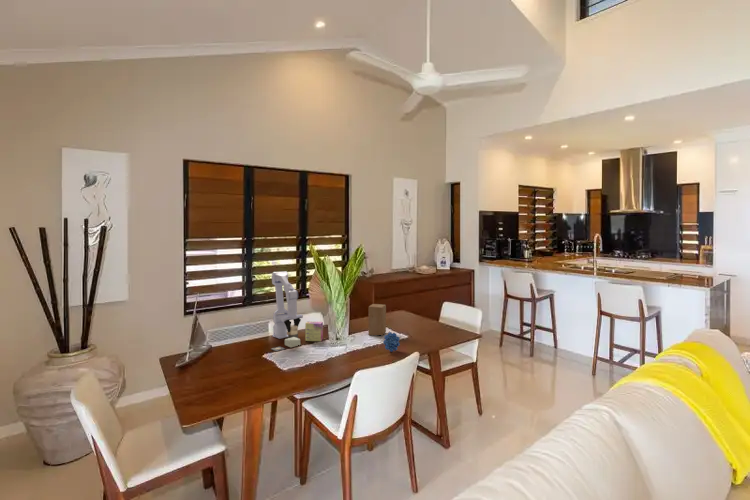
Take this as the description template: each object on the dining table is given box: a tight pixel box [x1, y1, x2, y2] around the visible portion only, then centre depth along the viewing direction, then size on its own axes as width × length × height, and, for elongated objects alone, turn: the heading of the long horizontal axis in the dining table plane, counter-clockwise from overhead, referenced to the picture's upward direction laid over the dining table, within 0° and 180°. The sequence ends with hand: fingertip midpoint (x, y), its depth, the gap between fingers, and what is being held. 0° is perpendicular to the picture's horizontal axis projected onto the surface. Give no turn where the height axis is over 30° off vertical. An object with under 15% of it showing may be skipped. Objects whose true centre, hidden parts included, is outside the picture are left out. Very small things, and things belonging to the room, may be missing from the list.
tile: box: [270, 346, 286, 352], centre depth 228 cm, size 6×6×1 cm
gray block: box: [287, 333, 299, 339], centre depth 248 cm, size 4×4×5 cm
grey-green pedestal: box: [284, 337, 301, 348], centre depth 237 cm, size 7×7×4 cm
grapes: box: [382, 331, 401, 353], centre depth 223 cm, size 12×7×12 cm, turn 121°
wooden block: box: [367, 303, 387, 336], centre depth 262 cm, size 10×10×20 cm
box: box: [304, 320, 324, 342], centre depth 247 cm, size 10×6×12 cm, turn 84°
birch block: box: [287, 324, 299, 335], centre depth 236 cm, size 4×4×5 cm
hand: (292, 331), depth 236 cm, fingers closed on birch block, 4 cm apart
